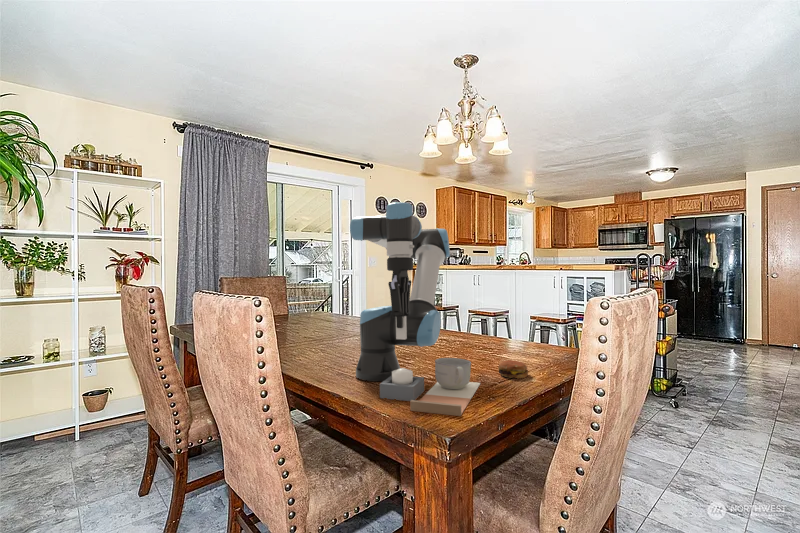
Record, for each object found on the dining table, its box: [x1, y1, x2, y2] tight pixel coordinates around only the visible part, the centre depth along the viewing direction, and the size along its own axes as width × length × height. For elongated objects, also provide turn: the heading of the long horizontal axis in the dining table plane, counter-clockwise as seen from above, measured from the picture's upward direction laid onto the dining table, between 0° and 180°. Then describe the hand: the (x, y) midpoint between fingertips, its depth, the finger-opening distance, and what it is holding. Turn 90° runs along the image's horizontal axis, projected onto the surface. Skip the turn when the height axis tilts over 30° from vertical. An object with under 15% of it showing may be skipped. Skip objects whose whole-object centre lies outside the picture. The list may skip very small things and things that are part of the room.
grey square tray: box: [379, 376, 425, 402], centre depth 120 cm, size 10×10×4 cm
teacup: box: [434, 357, 472, 389], centre depth 124 cm, size 14×11×8 cm
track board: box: [409, 381, 481, 417], centre depth 118 cm, size 13×29×2 cm, turn 160°
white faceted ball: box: [392, 367, 414, 385], centre depth 120 cm, size 6×6×6 cm
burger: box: [498, 359, 529, 380], centre depth 138 cm, size 10×9×5 cm
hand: (401, 338), depth 119 cm, fingers closed
